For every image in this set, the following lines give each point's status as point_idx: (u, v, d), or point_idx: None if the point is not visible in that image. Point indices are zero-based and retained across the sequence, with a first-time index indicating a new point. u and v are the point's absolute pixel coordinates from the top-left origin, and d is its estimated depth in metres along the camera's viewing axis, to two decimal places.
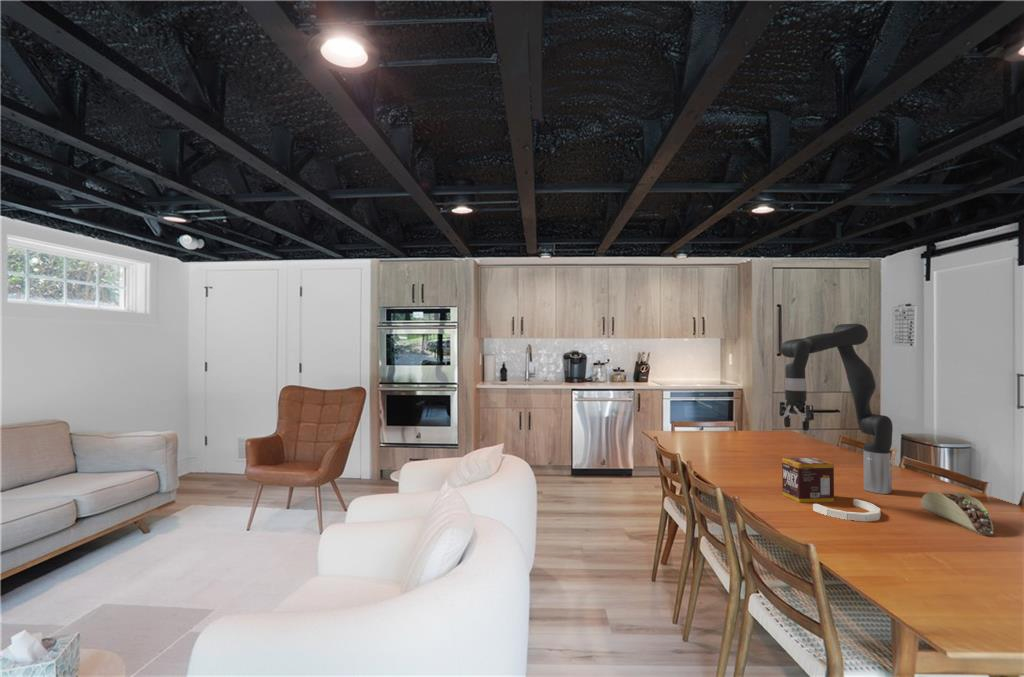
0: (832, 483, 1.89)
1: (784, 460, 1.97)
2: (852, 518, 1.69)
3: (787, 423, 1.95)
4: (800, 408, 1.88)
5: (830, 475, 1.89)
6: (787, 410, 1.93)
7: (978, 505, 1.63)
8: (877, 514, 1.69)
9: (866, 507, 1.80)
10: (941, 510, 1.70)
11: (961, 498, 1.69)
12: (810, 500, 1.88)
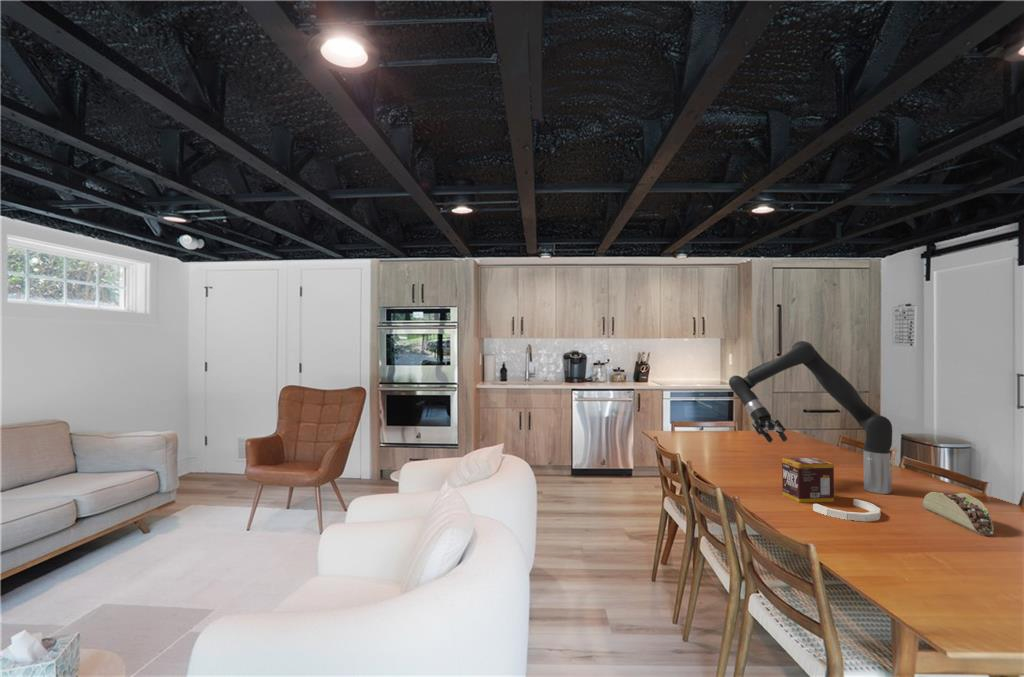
0: (832, 483, 1.89)
1: (784, 460, 1.97)
2: (852, 518, 1.69)
3: (782, 438, 2.10)
4: None
5: (830, 475, 1.89)
6: None
7: (979, 505, 1.63)
8: (877, 514, 1.69)
9: (866, 507, 1.80)
10: (942, 510, 1.70)
11: (963, 498, 1.69)
12: (810, 500, 1.88)
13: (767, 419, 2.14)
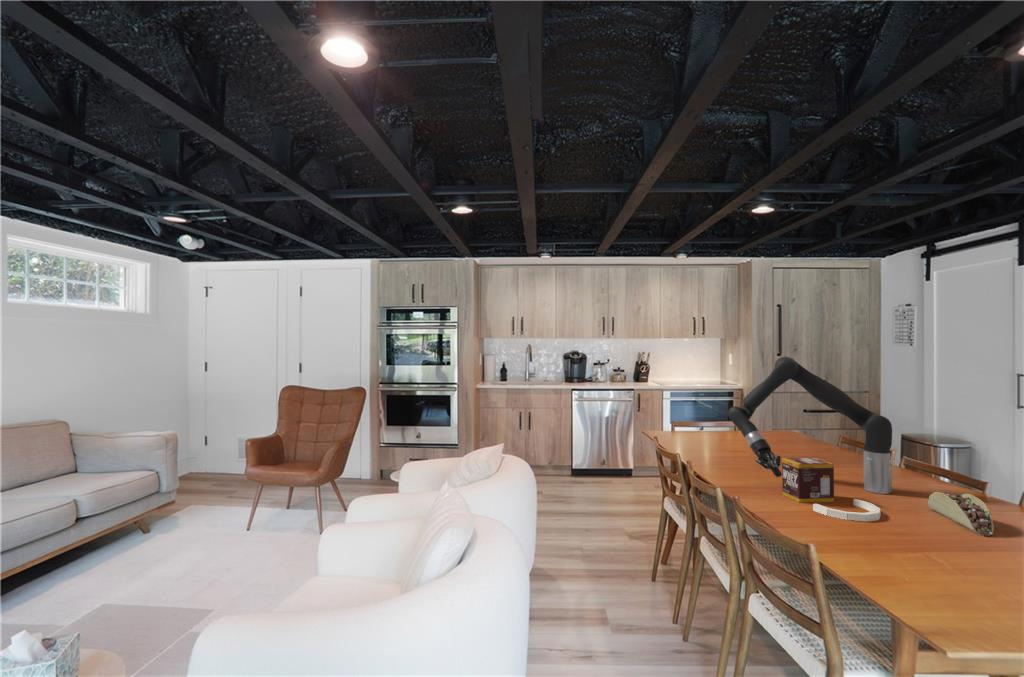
0: (832, 483, 1.89)
1: (784, 460, 1.97)
2: (852, 518, 1.69)
3: None
4: None
5: (830, 475, 1.89)
6: None
7: (981, 506, 1.62)
8: (877, 514, 1.69)
9: (866, 507, 1.80)
10: (945, 510, 1.70)
11: (966, 499, 1.68)
12: (810, 500, 1.88)
13: (767, 451, 2.15)
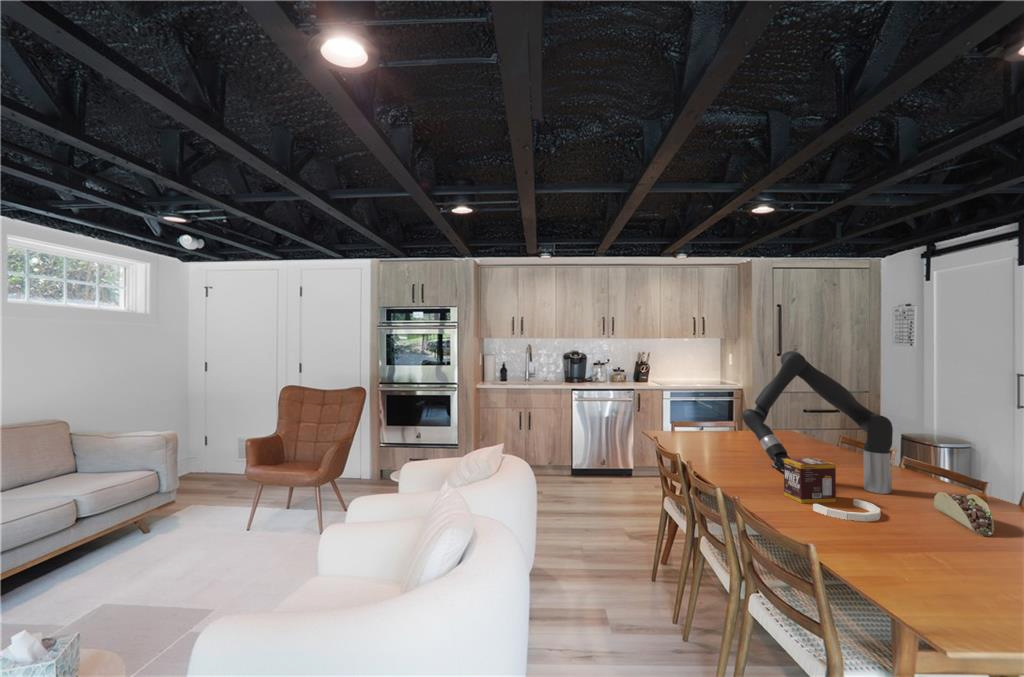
0: (834, 484, 1.88)
1: (786, 460, 1.96)
2: (852, 518, 1.69)
3: None
4: None
5: (832, 475, 1.88)
6: None
7: (984, 507, 1.62)
8: (877, 514, 1.69)
9: (866, 507, 1.80)
10: (948, 510, 1.70)
11: (970, 500, 1.67)
12: (812, 501, 1.87)
13: (783, 456, 2.06)
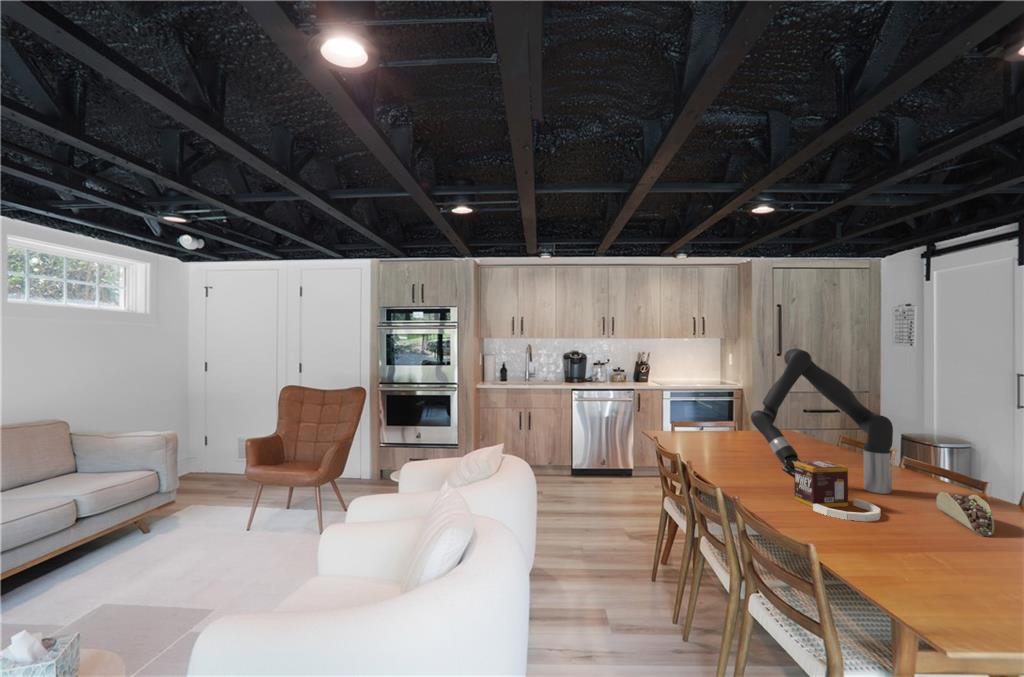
0: (846, 487, 1.84)
1: (796, 464, 1.90)
2: (852, 518, 1.69)
3: None
4: None
5: (844, 479, 1.83)
6: None
7: (985, 507, 1.61)
8: (877, 514, 1.69)
9: (866, 507, 1.80)
10: (949, 510, 1.70)
11: (972, 500, 1.67)
12: (824, 505, 1.82)
13: (794, 459, 2.01)
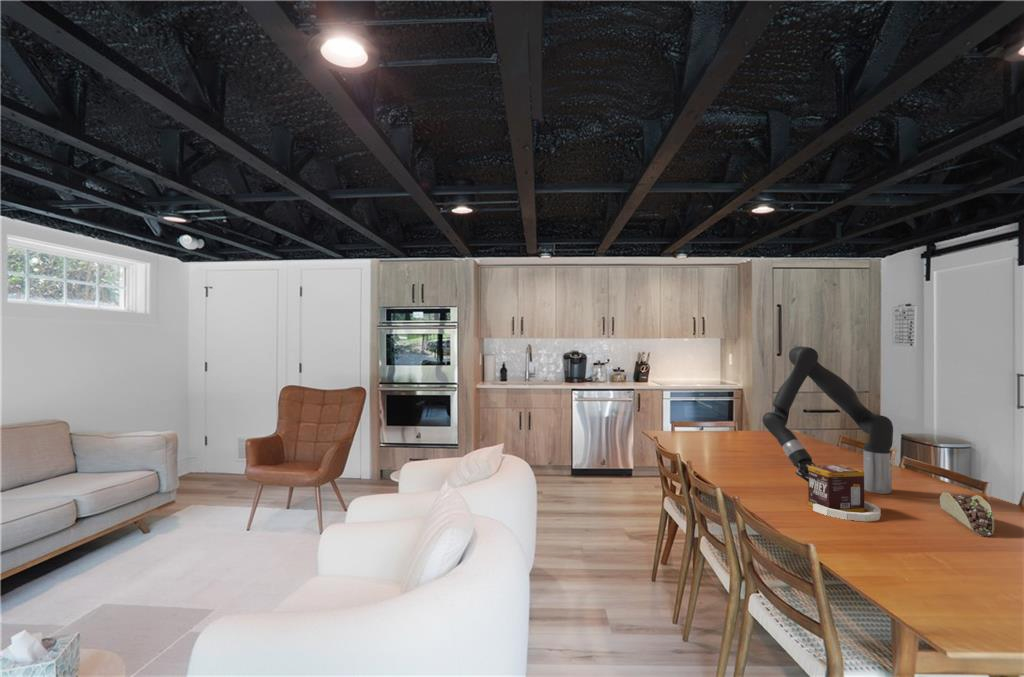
0: (863, 493, 1.77)
1: (810, 468, 1.84)
2: (852, 518, 1.69)
3: None
4: None
5: (860, 484, 1.77)
6: None
7: (986, 507, 1.61)
8: (877, 514, 1.69)
9: (866, 507, 1.80)
10: (951, 511, 1.70)
11: (974, 500, 1.66)
12: None
13: (808, 462, 1.94)
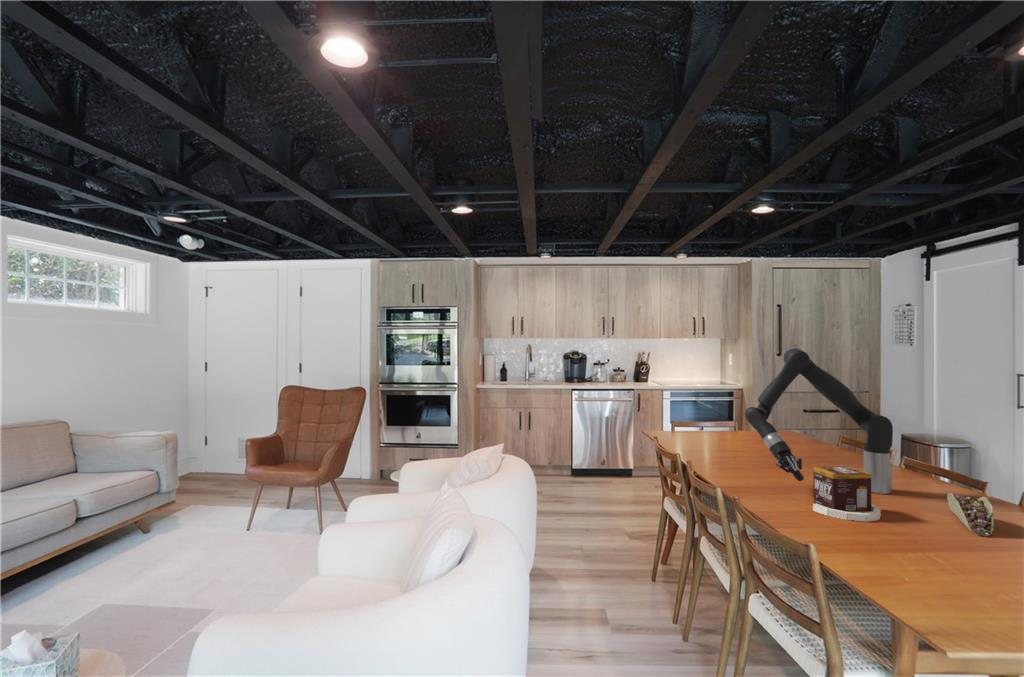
0: (869, 495, 1.74)
1: (816, 469, 1.82)
2: (852, 518, 1.69)
3: None
4: None
5: (867, 486, 1.74)
6: None
7: (989, 508, 1.60)
8: (877, 514, 1.69)
9: None
10: (955, 511, 1.69)
11: (979, 501, 1.65)
12: None
13: (787, 454, 2.04)
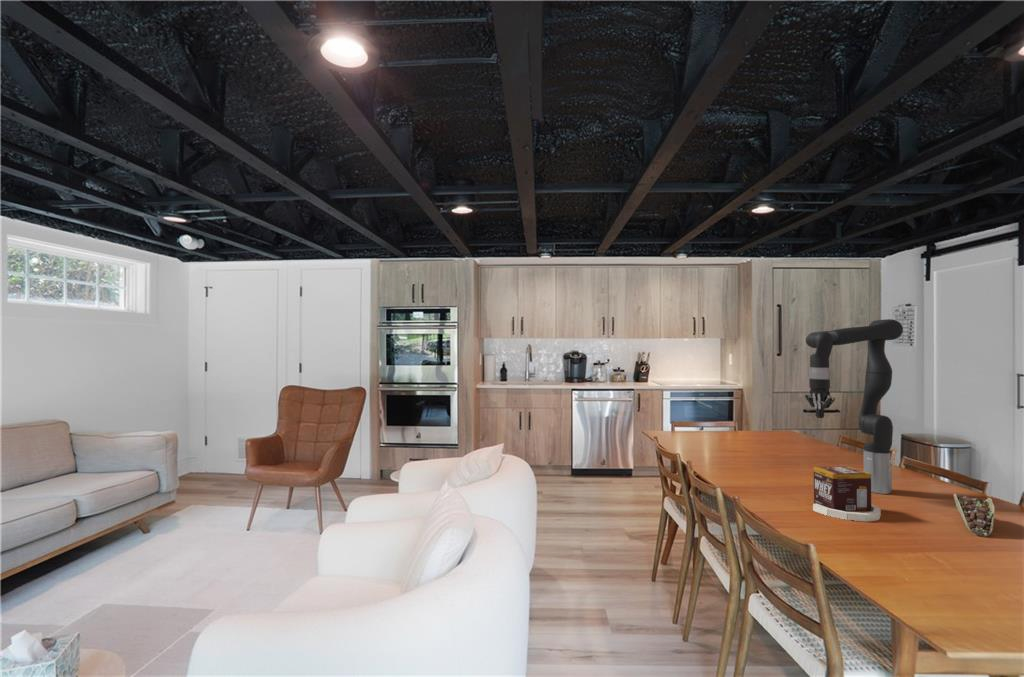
0: (869, 495, 1.74)
1: (816, 469, 1.82)
2: (852, 518, 1.69)
3: None
4: (823, 398, 2.00)
5: (867, 486, 1.74)
6: (814, 399, 2.03)
7: (991, 509, 1.59)
8: (877, 514, 1.69)
9: None
10: (960, 512, 1.68)
11: (984, 502, 1.64)
12: None
13: None
